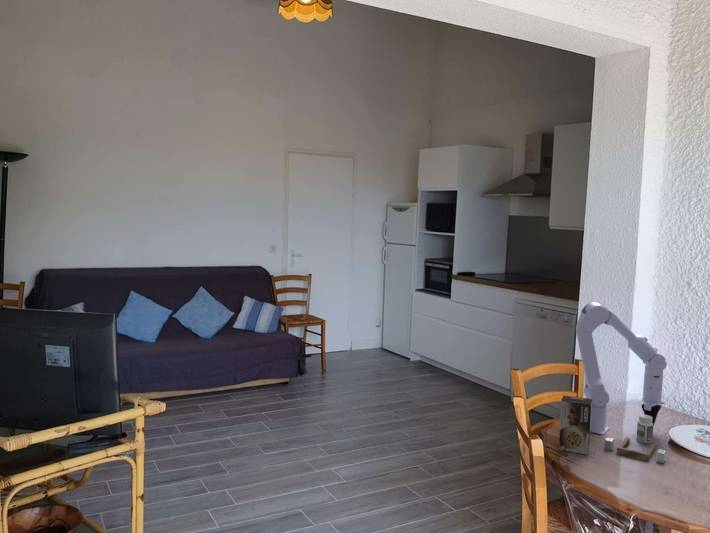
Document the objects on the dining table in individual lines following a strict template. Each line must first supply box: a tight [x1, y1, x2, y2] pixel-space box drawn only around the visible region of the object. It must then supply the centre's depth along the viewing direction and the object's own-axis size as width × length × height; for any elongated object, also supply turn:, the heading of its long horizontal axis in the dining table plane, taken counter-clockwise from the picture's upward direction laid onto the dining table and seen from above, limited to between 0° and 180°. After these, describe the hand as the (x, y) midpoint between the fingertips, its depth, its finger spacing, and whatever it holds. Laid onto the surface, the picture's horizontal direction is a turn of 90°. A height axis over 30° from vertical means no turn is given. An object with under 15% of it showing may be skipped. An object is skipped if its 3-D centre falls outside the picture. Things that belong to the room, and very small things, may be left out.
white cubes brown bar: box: [603, 436, 667, 464], centre depth 189 cm, size 17×13×3 cm
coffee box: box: [558, 395, 592, 456], centre depth 189 cm, size 9×6×16 cm
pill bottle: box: [636, 414, 654, 444], centre depth 198 cm, size 5×5×8 cm
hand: (650, 425), depth 205 cm, fingers closed
